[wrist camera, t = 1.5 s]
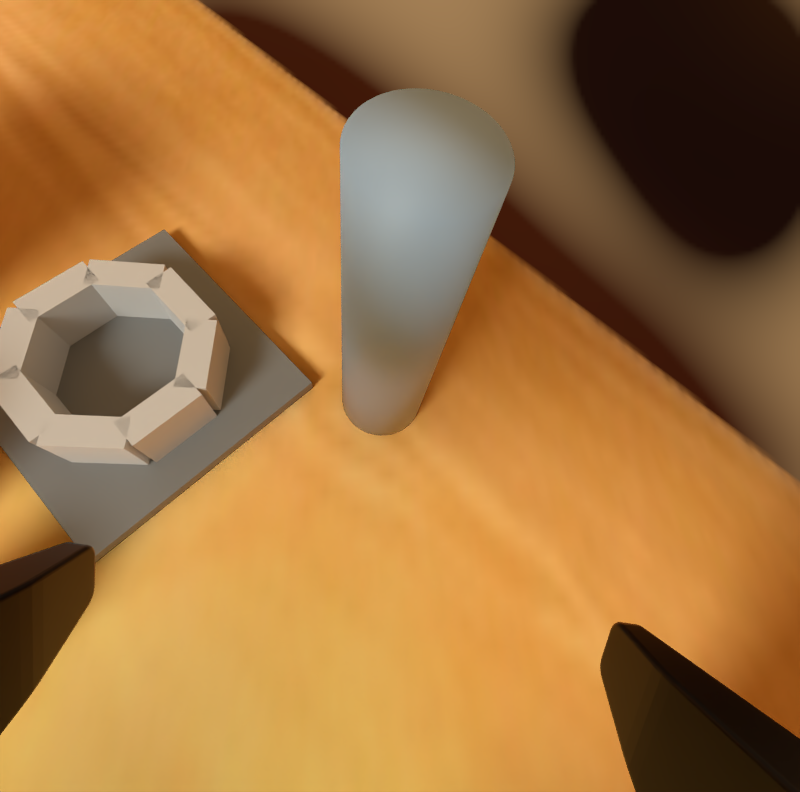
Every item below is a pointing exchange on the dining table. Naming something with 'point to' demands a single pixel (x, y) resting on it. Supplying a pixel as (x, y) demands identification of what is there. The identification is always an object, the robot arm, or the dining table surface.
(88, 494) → the socket
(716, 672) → the dining table surface
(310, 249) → the dining table surface
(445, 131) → the long dowel
